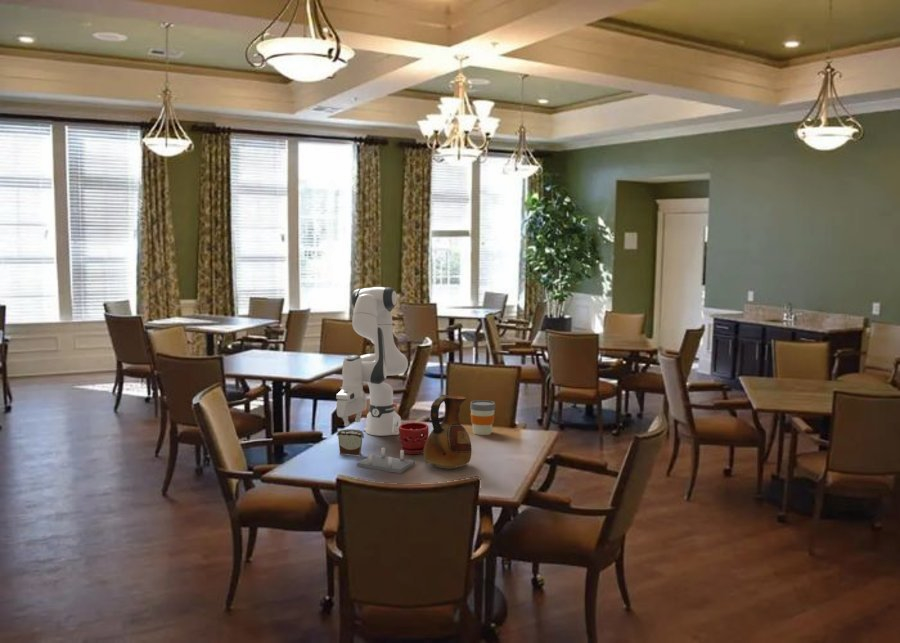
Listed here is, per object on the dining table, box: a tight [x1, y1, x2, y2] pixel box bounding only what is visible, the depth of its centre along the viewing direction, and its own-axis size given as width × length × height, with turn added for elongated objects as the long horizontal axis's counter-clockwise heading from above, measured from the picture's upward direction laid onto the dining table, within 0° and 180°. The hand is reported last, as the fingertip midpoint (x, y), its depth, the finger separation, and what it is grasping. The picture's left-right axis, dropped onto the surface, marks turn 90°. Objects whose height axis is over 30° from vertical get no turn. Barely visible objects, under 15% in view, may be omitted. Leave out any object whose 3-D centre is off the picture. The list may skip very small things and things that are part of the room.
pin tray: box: [356, 447, 416, 474], centre depth 323 cm, size 14×20×6 cm
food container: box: [336, 428, 365, 457], centre depth 341 cm, size 12×6×10 cm, turn 74°
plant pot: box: [398, 422, 430, 455], centre depth 345 cm, size 13×13×12 cm
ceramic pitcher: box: [423, 394, 473, 470], centre depth 323 cm, size 20×20×30 cm
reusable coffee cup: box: [469, 399, 496, 436], centre depth 382 cm, size 13×13×15 cm
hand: (352, 424), depth 340 cm, fingers open, 8 cm apart
